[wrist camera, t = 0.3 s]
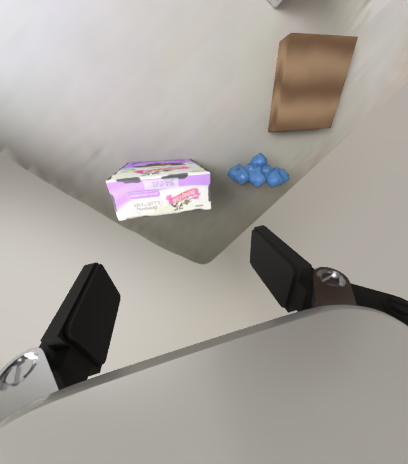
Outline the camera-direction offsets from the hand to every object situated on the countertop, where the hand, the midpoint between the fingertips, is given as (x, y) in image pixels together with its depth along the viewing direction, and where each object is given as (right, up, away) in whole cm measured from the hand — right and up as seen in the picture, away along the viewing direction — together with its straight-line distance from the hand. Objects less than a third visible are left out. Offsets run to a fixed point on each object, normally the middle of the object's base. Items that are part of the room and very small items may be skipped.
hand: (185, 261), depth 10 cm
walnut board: (+22, +32, +24) cm, 46 cm away
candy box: (-8, +15, +26) cm, 31 cm away
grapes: (+11, +18, +29) cm, 36 cm away
